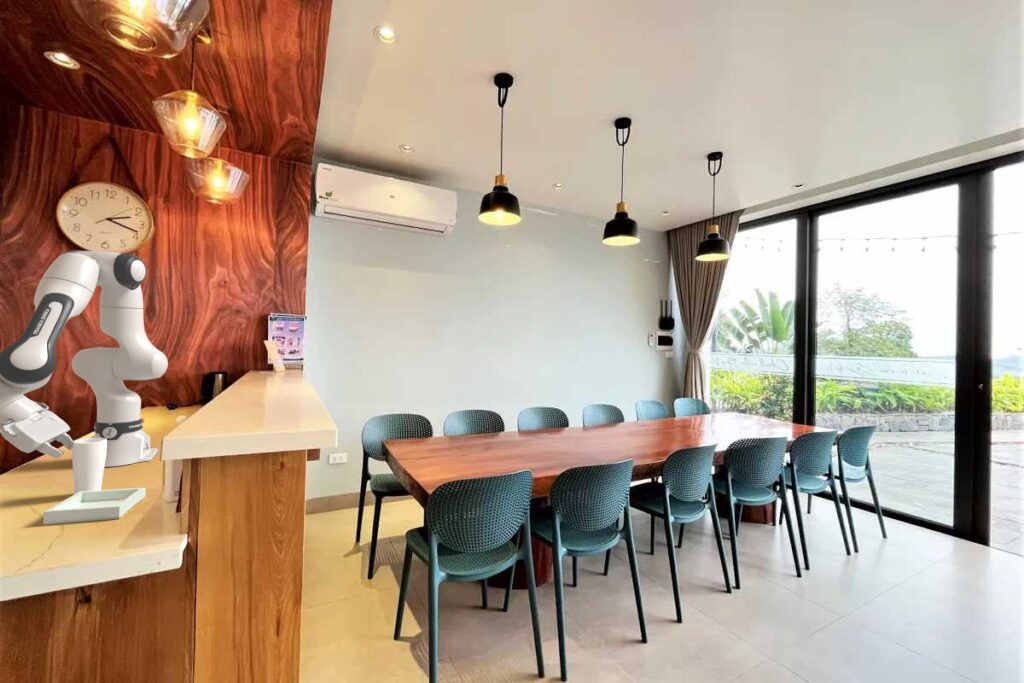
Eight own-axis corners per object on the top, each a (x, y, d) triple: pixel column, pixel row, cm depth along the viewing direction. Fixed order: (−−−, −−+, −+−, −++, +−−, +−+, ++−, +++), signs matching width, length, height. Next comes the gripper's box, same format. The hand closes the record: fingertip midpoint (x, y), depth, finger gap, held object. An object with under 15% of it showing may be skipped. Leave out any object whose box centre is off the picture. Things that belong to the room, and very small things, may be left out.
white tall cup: (104, 489, 123) (106, 436, 123) (105, 496, 118) (107, 441, 118) (70, 494, 118) (73, 439, 118) (69, 501, 114) (72, 444, 114)
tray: (79, 502, 113) (79, 491, 113) (145, 498, 118) (145, 487, 118) (43, 524, 100) (43, 511, 100) (119, 518, 105) (119, 506, 105)
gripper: (9, 414, 103) (64, 452, 108) (46, 402, 121) (92, 435, 126) (-19, 434, 101) (37, 471, 106) (23, 419, 119) (70, 452, 124)
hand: (67, 451), depth 116 cm, fingers open, 8 cm apart
